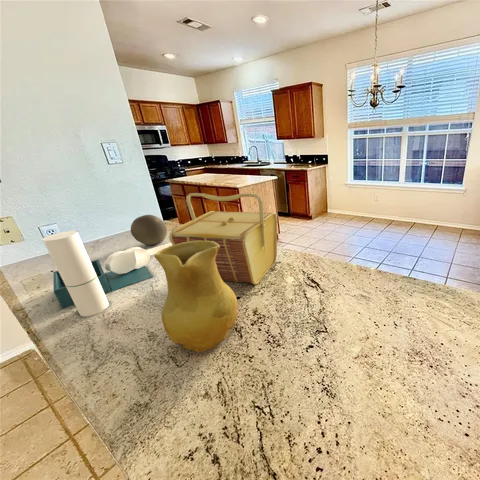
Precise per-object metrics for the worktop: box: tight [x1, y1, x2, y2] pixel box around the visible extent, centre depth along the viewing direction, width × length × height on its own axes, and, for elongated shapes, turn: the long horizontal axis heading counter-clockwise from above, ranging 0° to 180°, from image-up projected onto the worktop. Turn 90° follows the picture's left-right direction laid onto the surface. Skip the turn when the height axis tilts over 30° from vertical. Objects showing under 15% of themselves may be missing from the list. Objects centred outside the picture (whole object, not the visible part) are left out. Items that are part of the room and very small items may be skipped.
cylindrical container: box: [42, 230, 110, 317], centre depth 77 cm, size 7×7×25 cm
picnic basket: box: [168, 192, 278, 286], centre depth 94 cm, size 29×26×30 cm
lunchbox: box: [52, 259, 154, 309], centre depth 95 cm, size 25×18×7 cm
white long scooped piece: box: [103, 242, 172, 274], centre depth 112 cm, size 38×8×4 cm
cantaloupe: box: [130, 214, 168, 246], centre depth 126 cm, size 14×14×15 cm
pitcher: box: [153, 240, 239, 353], centre depth 65 cm, size 17×19×25 cm
